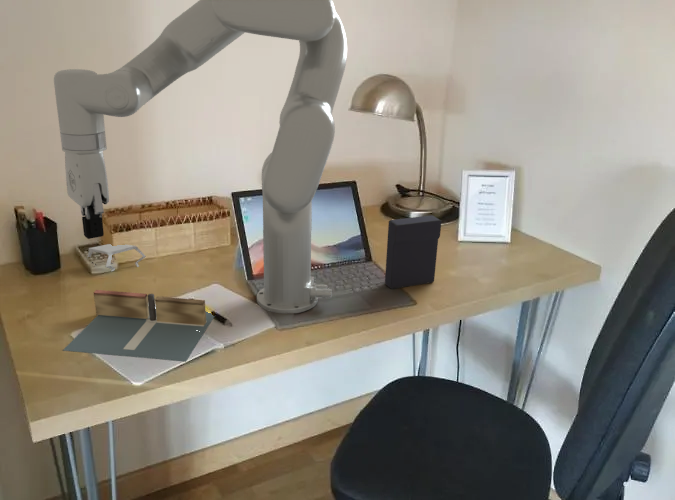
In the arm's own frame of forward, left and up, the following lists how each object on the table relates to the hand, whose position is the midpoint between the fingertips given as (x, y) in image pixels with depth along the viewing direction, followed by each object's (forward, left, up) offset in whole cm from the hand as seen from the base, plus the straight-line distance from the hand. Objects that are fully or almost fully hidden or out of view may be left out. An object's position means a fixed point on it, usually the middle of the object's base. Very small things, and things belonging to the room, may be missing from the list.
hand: (94, 236), depth 118 cm
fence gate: (-6, +5, -14) cm, 16 cm away
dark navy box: (-61, -21, -15) cm, 66 cm away
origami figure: (+5, -18, -15) cm, 24 cm away
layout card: (-12, +9, -15) cm, 21 cm away
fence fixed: (-17, +5, -14) cm, 23 cm away
